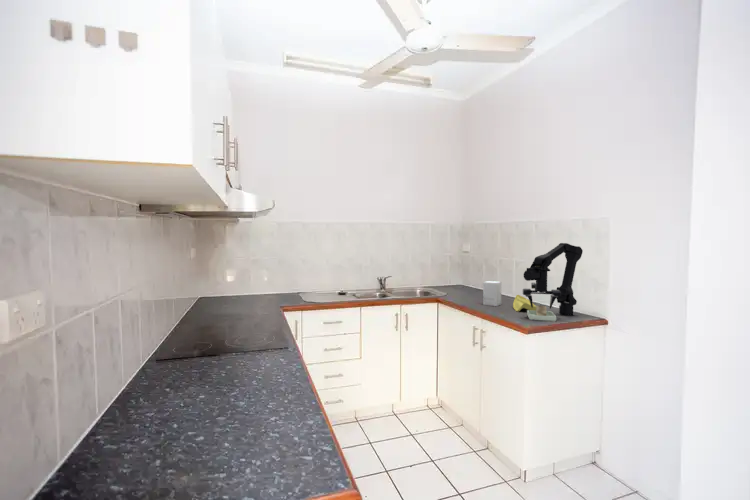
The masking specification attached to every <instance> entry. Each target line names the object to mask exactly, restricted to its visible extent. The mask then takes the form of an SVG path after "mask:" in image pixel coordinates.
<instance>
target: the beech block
mask: <svg viewBox="0 0 750 500" xmlns="http://www.w3.org/2000/svg"><path fill="white" fill-rule="evenodd" d="M535 306H536V315H539V316H546V311H547V306H546V305H537V304H536V305H535Z"/></svg>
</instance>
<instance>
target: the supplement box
mask: <svg viewBox="0 0 750 500" xmlns="http://www.w3.org/2000/svg"><path fill="white" fill-rule="evenodd" d="M482 285H483V286H482V290H483V292H482V294H483V296H482V298H483V300H482V301H483V303H482V304H483V306H491V307H497V306H500V305H502V281H494V280H486V281H483V282H482Z"/></svg>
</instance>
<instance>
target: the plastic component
mask: <svg viewBox="0 0 750 500" xmlns="http://www.w3.org/2000/svg"><path fill="white" fill-rule="evenodd" d="M512 308H513V309H514V311H515V312H517V313H519V312H520V311H521V310H522V309H525V310H531V311H536V305H535V304H534V303H533V308H532V307H531V304H530V301H529V298H526V297H524V296H521V295H520V294H516V296H515V297H514V300H513V303H512Z"/></svg>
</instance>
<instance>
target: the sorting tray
mask: <svg viewBox="0 0 750 500" xmlns="http://www.w3.org/2000/svg"><path fill="white" fill-rule="evenodd" d="M526 316H528V319H529V321H542V322H543V321H544V322H557V316H556V314H555V313H554V312H553V311H549V310H548V311H547V310H546V316H539V315H536V311H531V310H528V309H526Z"/></svg>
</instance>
